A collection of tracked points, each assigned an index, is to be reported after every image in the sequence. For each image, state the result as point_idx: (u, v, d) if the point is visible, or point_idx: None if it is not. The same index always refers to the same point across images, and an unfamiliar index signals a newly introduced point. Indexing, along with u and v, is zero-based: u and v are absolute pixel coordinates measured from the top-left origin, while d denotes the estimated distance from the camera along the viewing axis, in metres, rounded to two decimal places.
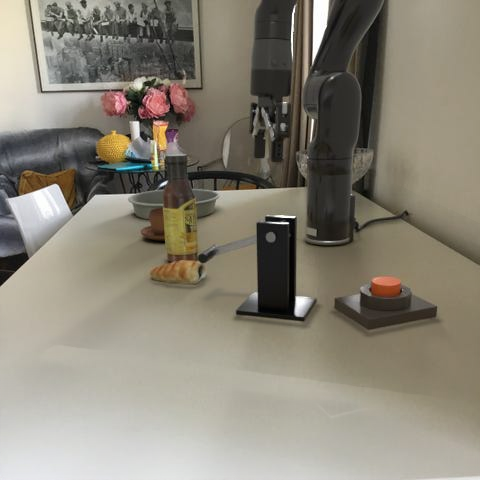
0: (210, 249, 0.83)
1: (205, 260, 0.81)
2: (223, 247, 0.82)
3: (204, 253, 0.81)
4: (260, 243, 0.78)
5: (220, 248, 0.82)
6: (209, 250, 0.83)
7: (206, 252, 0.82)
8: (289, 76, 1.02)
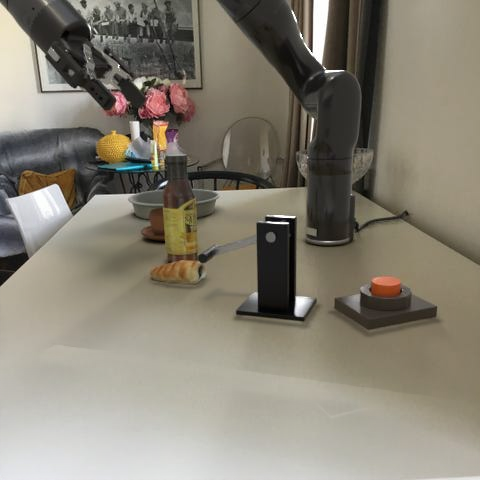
0: (210, 249, 0.83)
1: (205, 260, 0.81)
2: (223, 247, 0.82)
3: (204, 253, 0.81)
4: (260, 243, 0.78)
5: (220, 248, 0.82)
6: (209, 250, 0.83)
7: (206, 252, 0.82)
8: (51, 10, 0.77)
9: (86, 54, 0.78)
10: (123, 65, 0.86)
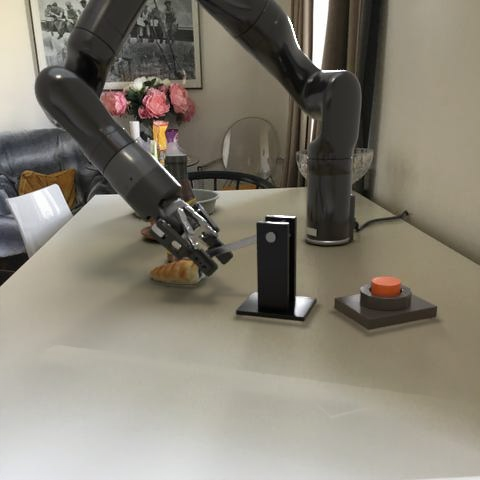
0: (210, 249, 0.83)
1: None
2: (223, 247, 0.82)
3: None
4: (260, 243, 0.78)
5: (220, 248, 0.82)
6: (209, 250, 0.83)
7: (206, 252, 0.82)
8: (149, 180, 0.79)
9: (184, 222, 0.81)
10: (210, 220, 0.88)
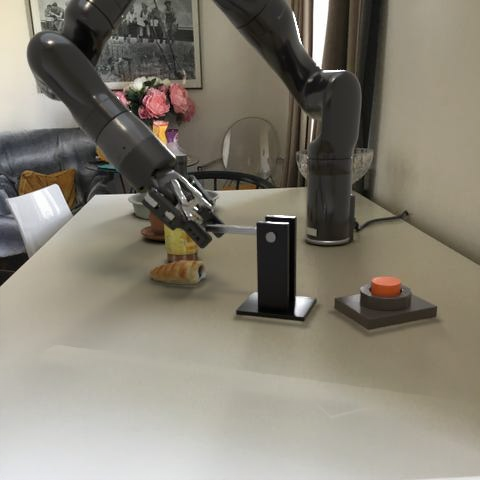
0: (206, 224, 0.82)
1: None
2: (220, 227, 0.81)
3: None
4: (260, 243, 0.78)
5: (216, 227, 0.81)
6: (205, 225, 0.81)
7: None
8: (142, 149, 0.78)
9: (178, 192, 0.79)
10: (204, 193, 0.86)
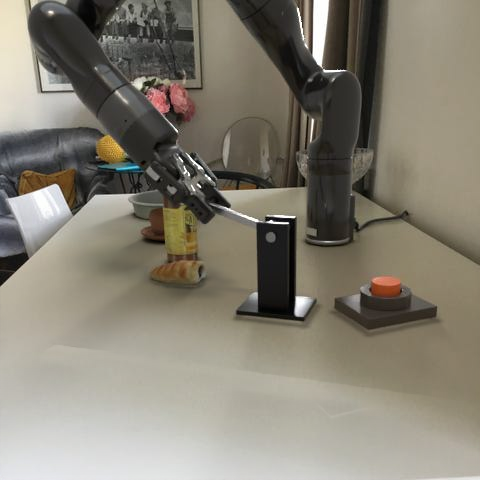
0: (209, 202, 0.80)
1: None
2: (222, 210, 0.80)
3: None
4: (260, 243, 0.78)
5: (219, 208, 0.80)
6: (208, 203, 0.80)
7: None
8: (144, 122, 0.77)
9: (180, 167, 0.78)
10: (207, 170, 0.85)
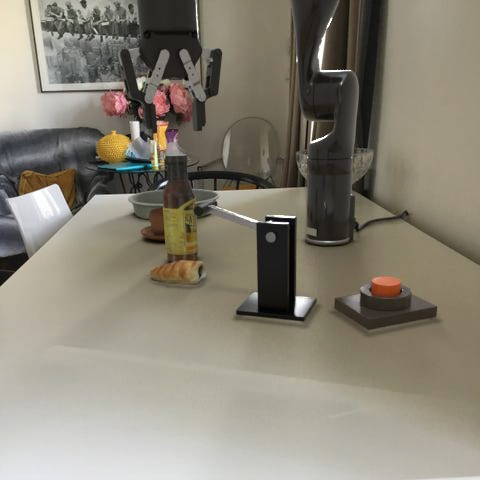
0: (209, 204, 0.81)
1: (199, 214, 0.79)
2: (222, 212, 0.80)
3: (202, 207, 0.79)
4: (260, 243, 0.78)
5: (218, 210, 0.80)
6: (207, 205, 0.80)
7: (204, 207, 0.79)
8: (149, 1, 0.69)
9: (157, 67, 0.73)
10: (214, 78, 0.76)
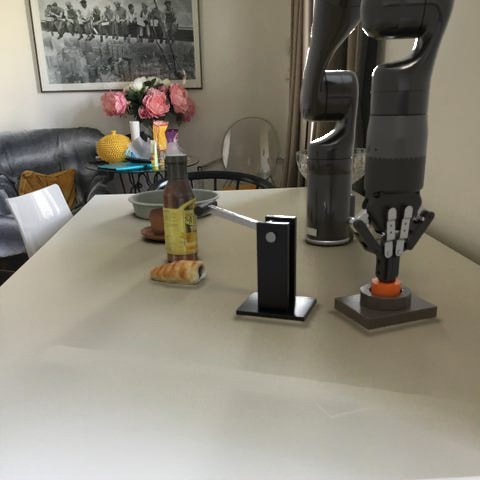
0: (209, 204, 0.81)
1: (199, 214, 0.79)
2: (222, 212, 0.80)
3: (202, 207, 0.79)
4: (260, 243, 0.78)
5: (218, 210, 0.80)
6: (207, 205, 0.80)
7: (204, 207, 0.79)
8: (387, 166, 0.70)
9: (389, 226, 0.74)
10: (416, 235, 0.76)
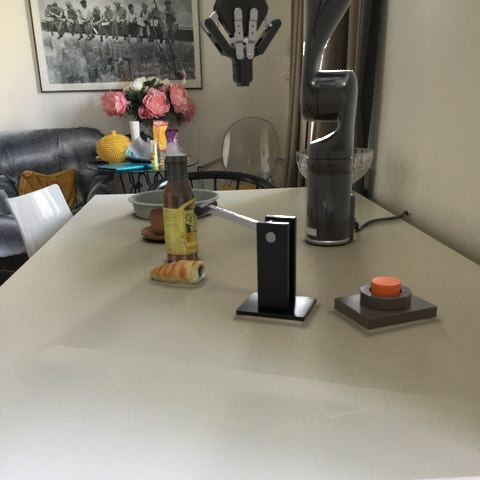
0: (209, 204, 0.81)
1: (199, 214, 0.79)
2: (222, 212, 0.80)
3: (202, 207, 0.79)
4: (260, 243, 0.78)
5: (218, 210, 0.80)
6: (207, 205, 0.80)
7: (204, 207, 0.79)
8: None
9: (236, 26, 0.84)
10: (265, 40, 0.87)
